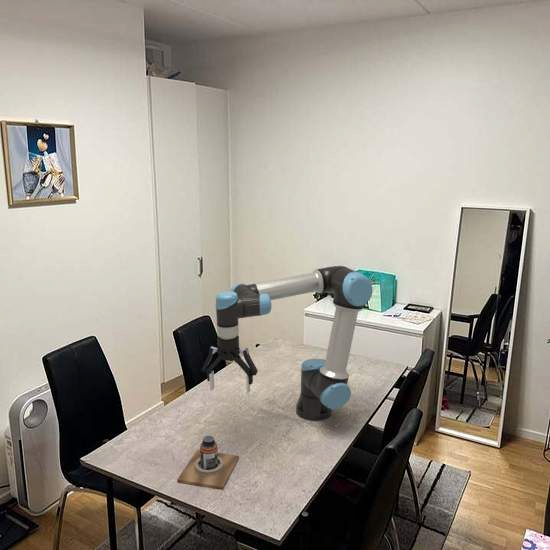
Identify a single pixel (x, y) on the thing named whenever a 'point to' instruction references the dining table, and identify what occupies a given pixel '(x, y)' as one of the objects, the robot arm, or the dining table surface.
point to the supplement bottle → (208, 453)
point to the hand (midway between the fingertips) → (230, 390)
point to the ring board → (212, 479)
